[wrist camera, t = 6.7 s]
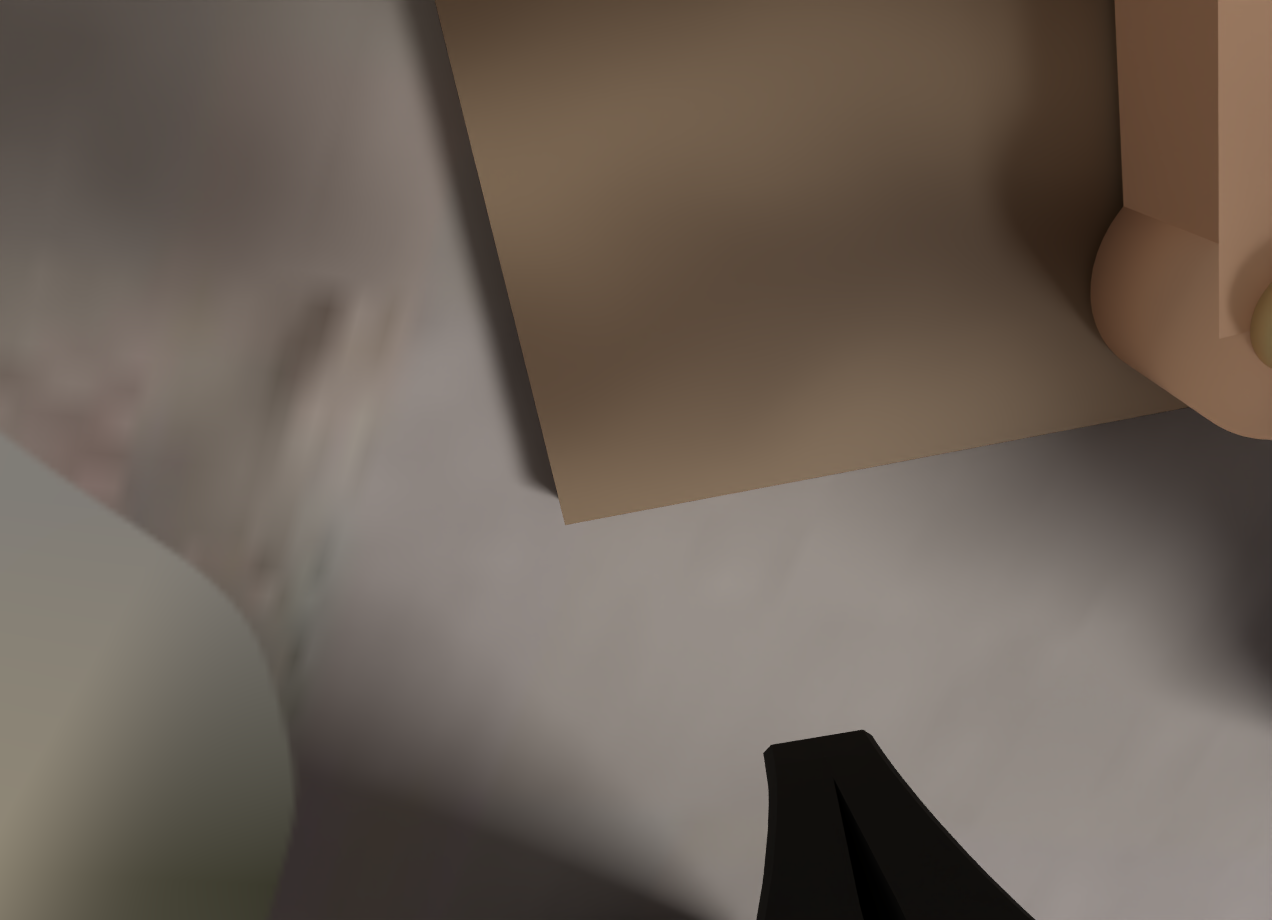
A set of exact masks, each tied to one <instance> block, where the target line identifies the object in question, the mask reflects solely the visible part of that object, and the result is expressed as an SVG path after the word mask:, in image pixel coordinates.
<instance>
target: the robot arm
mask: <svg viewBox="0 0 1272 920" xmlns="http://www.w3.org/2000/svg"><path fill="white" fill-rule="evenodd" d="M763 754H764V760H765V767H766V774H767V781H768V789H769V813H768V835H767V845H766V856H765V866H764V876H763V884H762V890H761V896H760V902H759V908H758V914H757V920H1035V919H1034V918H1033V917H1032V916H1031V915H1030V914H1029V913H1027V912H1026V911H1025V910H1024V909H1023V908H1022V907H1021V906H1020V905H1019V904H1018V903H1017V902H1016V901H1015V900H1014V899H1013V898H1012V897H1011V896H1010V895H1009V894H1008V893H1007V892H1005V891H1004V890H1003V889H1002V888H1001V887H1000V886H999V885H998V884H997V883H996V882H995V881H994V880H993V879H992V878H991V877H990V876H989V875H988V874H987V873H986V872H985V871H984V870H983V869H982V868H981V867H980V866H979V865H978V863H977V862H976V861H975V860H974V859H973V858H972V857H971V856H970V855H969V854H968V853H967V852H966V851H965V850H964V849H963V848H962V846H961V845H960V844H959V843H958V842H957V841H956V840H955V839H954V838H953V837H952V836H951V834H950V833H949V832H948V831H947V830H946V829H945V828H944V827H943V826H942V825H941V823H940V822H939V821H938V820H937V819H936V818H935V817H934V816H933V814H932V813H931V812H930V811H929V810H928V809H927V807H926V806H925V805H924V804H923V803H922V801H921V800H920V799H919V798H918V797H917V795H916V794H915V793H914V792H913V790H912V789H911V788H910V787H909V786H908V784H907V783H906V782H905V781H904V779H903V778H902V777H901V775H900V774H899V773H898V772H897V770H896V769H895V768H894V766H893V765H892V764H891V762H890V761H889V760H888V758H887V757H886V755H885V754H884V753H883V751H882V750H881V748H880V747H879V746H878V744H877V743H876V741H875V740H874V738H873V736H872V735H870V734H869V733H867V732H866V731H864V730H858V731H852V732H846V733H840V734H834V735H828V736H822V737H816V738H810V739H804V740H798V741H792V742H786V743H780V744H774V745H771V746H770V747H769V748H768V749H767V750H766V751H765V752H764V753H763Z"/></svg>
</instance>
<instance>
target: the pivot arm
mask: <svg viewBox="0 0 1272 920" xmlns="http://www.w3.org/2000/svg"><path fill="white" fill-rule="evenodd" d="M1114 1H1115V24H1116V47H1117V69H1118V92H1119V114H1120V137H1121V160H1122V182H1123V205H1124V206H1123V207H1122V209H1121V210H1120V211H1119V213H1118V214H1117V216H1116V217H1115V219H1114V220H1113V221H1112V223H1111V225H1110V226H1109V228H1108V230H1107V232H1106V234H1105V236H1104V238H1103V240H1102V242H1101V245H1100V247H1099V250H1098V252H1097V255H1096V259H1095V262H1094V266H1093V270H1092V277H1091V292H1090V299H1091V307H1092V313H1093V317H1094V320H1095V324H1096V326H1097V329H1098V331H1099V333H1100V335H1101V337H1102V339H1103V340H1104V342H1105V343H1106V345H1107V346H1108V347H1109V349H1110V350H1111V351H1112V352H1113V353H1114V354H1115V355H1116V356H1117V357H1118V358H1119V359H1121V360H1122V361H1123V362H1125V363H1126V364H1127V365H1129V366H1130V367H1132V368H1133V369H1135V370H1136V371H1138V372H1139V373H1141V374H1142V375H1144V376H1145V377H1147V378H1148V379H1149V380H1151V381H1152V382H1154V383H1155V384H1157V385H1158V386H1160V387H1161V388H1163V389H1164V390H1166V391H1167V392H1169V393H1170V394H1171V395H1173V396H1174V397H1176V398H1177V399H1179V400H1180V401H1182V402H1183V403H1185V404H1186V405H1188V406H1189V407H1191V408H1192V409H1194V410H1195V411H1196V412H1198V413H1199V414H1201V415H1202V416H1204V417H1205V418H1207V419H1208V420H1210V421H1211V422H1213V423H1214V424H1216V425H1217V426H1219V427H1221V428H1223V429H1225V430H1227V431H1229V432H1232V433H1235V434H1238V435H1241V436H1244V437H1249V438H1255V439H1266V440H1272V0H1114Z"/></svg>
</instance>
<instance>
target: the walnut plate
mask: <svg viewBox="0 0 1272 920" xmlns="http://www.w3.org/2000/svg"><path fill="white" fill-rule="evenodd" d="M435 4H436V8H437V12H438V16H439V20H440V24H441V28H442V32H443V36H444V40H445V44H446V48H447V52H448V56H449V60H450V64H451V68H452V72H453V76H454V80H455V84H456V88H457V92H458V96H459V100H460V104H461V108H462V112H463V116H464V120H465V124H466V128H467V132H468V136H469V140H470V144H471V148H472V152H473V156H474V160H475V164H476V168H477V172H478V176H479V180H480V184H481V188H482V192H483V196H484V200H485V204H486V208H487V212H488V216H489V220H490V225H491V229H492V233H493V237H494V241H495V245H496V249H497V253H498V257H499V261H500V265H501V269H502V273H503V277H504V281H505V285H506V289H507V293H508V297H509V301H510V305H511V309H512V313H513V317H514V321H515V325H516V329H517V333H518V337H519V341H520V345H521V349H522V353H523V357H524V361H525V365H526V369H527V373H528V377H529V381H530V385H531V389H532V393H533V397H534V401H535V405H536V409H537V413H538V417H539V421H540V425H541V429H542V433H543V437H544V441H545V445H546V449H547V453H548V457H549V461H550V465H551V469H552V474H553V478H554V482H555V486H556V490H557V494H558V498H559V502H560V506H561V510H562V514H563V518H564V522H565V525H568V524H573V523H579V522H584V521H589V520H594V519H600V518H605V517H610V516H616V515H621V514H626V513H631V512H637V511H642V510H647V509H653V508H658V507H663V506H669V505H674V504H679V503H684V502H690V501H695V500H700V499H706V498H711V497H716V496H721V495H727V494H732V493H737V492H743V491H748V490H753V489H759V488H764V487H769V486H774V485H780V484H785V483H790V482H796V481H801V480H806V479H811V478H817V477H822V476H827V475H833V474H838V473H843V472H848V471H854V470H859V469H864V468H870V467H875V466H880V465H886V464H891V463H896V462H901V461H907V460H912V459H917V458H923V457H928V456H933V455H938V454H944V453H949V452H954V451H960V450H965V449H970V448H976V447H981V446H986V445H991V444H997V443H1002V442H1007V441H1013V440H1018V439H1023V438H1028V437H1034V436H1039V435H1044V434H1050V433H1055V432H1060V431H1065V430H1071V429H1076V428H1081V427H1087V426H1092V425H1097V424H1103V423H1108V422H1113V421H1118V420H1124V419H1129V418H1134V417H1140V416H1145V415H1150V414H1155V413H1161V412H1166V411H1171V410H1177V409H1182V408H1187V407H1189V406H1188V405H1186V404H1185V403H1183V402H1182V401H1180V400H1179V399H1177V398H1176V397H1174V396H1173V395H1171V394H1170V393H1169V392H1167V391H1166V390H1164V389H1163V388H1161V387H1160V386H1158V385H1157V384H1155V383H1154V382H1152V381H1151V380H1149V379H1148V378H1147V377H1145V376H1144V375H1142V374H1141V373H1139V372H1138V371H1136V370H1135V369H1133V368H1132V367H1130V366H1129V365H1127V364H1126V363H1125V362H1123V361H1122V360H1121V359H1119V358H1118V357H1117V356H1116V355H1115V354H1114V353H1113V352H1112V351H1111V350H1110V349H1109V347H1108V346H1107V345H1106V343H1105V342H1104V340H1103V339H1102V337H1101V335H1100V333H1099V331H1098V329H1097V326H1096V324H1095V320H1094V317H1093V313H1092V307H1091V299H1090V292H1091V277H1092V270H1093V266H1094V262H1095V259H1096V255H1097V252H1098V250H1099V247H1100V245H1101V242H1102V240H1103V238H1104V236H1105V234H1106V232H1107V230H1108V228H1109V226H1110V225H1111V223H1112V221H1113V220H1114V219H1115V217H1116V216H1117V214H1118V213H1119V211H1120V210H1121V209H1122V207H1123V206H1124V205H1123V182H1122V160H1121V137H1120V114H1119V92H1118V69H1117V47H1116V24H1115V1H1114V0H435Z"/></svg>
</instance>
